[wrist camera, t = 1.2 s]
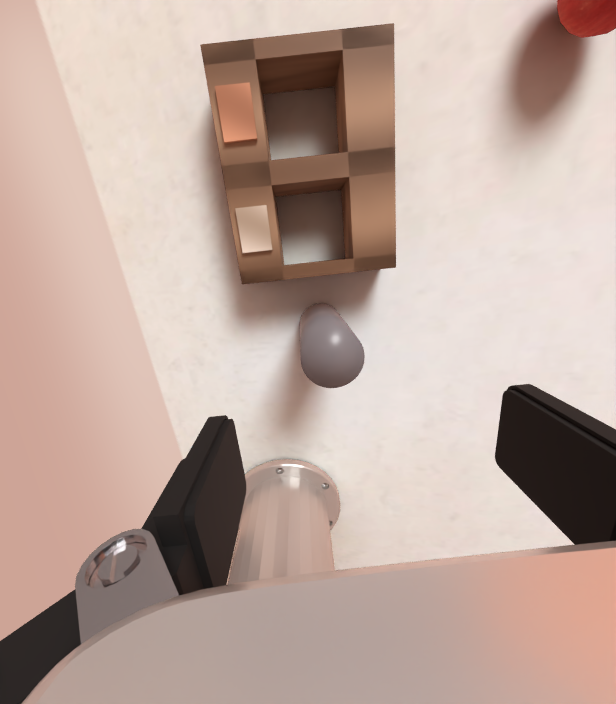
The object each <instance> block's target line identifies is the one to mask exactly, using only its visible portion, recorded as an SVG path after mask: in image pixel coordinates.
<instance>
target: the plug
mask: <svg viewBox="0 0 616 704" xmlns="http://www.w3.org/2000/svg"><path fill="white" fill-rule="evenodd" d="M300 345H301V364H302V368H303V371H304V373H305V374H306V376H307V377H308V378H309V379H310V380H311V381H312V382H313V383H315V384H317V385H319V386H322V387H326V388H337V387H341V386H344V385H346V384H348V383H350V382H351V381H353V380H354V379H355V378H356V377H357V376H358V374H359V373H360V371H361V369H362V367H363V364H364V350H363V347H362V344H361V343H360V341H359V340H358V338H357V337H356V336H355V334H354V333H353V332H352V330H351V329H350V328H349V326H348V325H347V324H346V322H345V321H344V320H343V318H342V317H341V316H340V314H339V313H338V312H337V310H336V309H335V308H333V307H332V306H330V305H328V304H323V303H319V304H314V305H312V306H310V307H308V308H307V309H306V310H305V311H304V312H303V314H302V316H301V319H300Z"/></svg>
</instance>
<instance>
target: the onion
mask: <svg viewBox="0 0 616 704" xmlns="http://www.w3.org/2000/svg"><path fill="white" fill-rule="evenodd" d="M557 10H558V15H559V19H560V22H561V24H562V25H563V26H564V27H565V29H566V30H567V31H568V32H569V33H570V34H573V35H575V36H578V37H581V38H583V37H591V36H596V35H601V34H606V33H609V32H610V31H612V30H614V29H615V28H616V0H558V1H557Z"/></svg>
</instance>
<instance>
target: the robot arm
mask: <svg viewBox="0 0 616 704" xmlns="http://www.w3.org/2000/svg"><path fill="white" fill-rule="evenodd" d="M495 459H496V462H497V464H498V466H499V467H500V468H501V469H502V470H503V472H504V473H505V474H506V475H507V476H508V477H509V478H510V479H511V480H512V481H513V482H514V483H515V484H516V485H517V486H518V487H519V488H520V489H521V490H522V491H523V492H524V493H525V494H526V495H527V496H528V497H529V498H530V499H531V500H532V501H533V502H534V503H535V504H536V505H537V506H538V507H539V508H540V509H541V510H542V511H543V512H544V514H545V515H546V516H547V517H548V518H549V519H550V520H551V521H552V522H553V523H554V524H555V525H556V526H557V527H558V528H559V529H560V530H561V531H562V532H563V533H564V534H565V535H566V536H567V537H568V538H569V539H570V540H571V541H572V542H573V543H574V544H575V545H568V546H558V547H548V548H538V549H529V550H519V551H510V552H500V553H491V554H481V555H472V556H462V557H453V558H444V559H434V560H425V561H416V562H407V563H398V564H389V565H380V566H371V567H363V568H354V569H345V570H336V571H335V567H334V559H333V551H332V542H331V534H330V530H331V529H332V528H333V527H334V525H335V523H336V522H337V520H338V517H339V513H340V498H339V493H338V490H337V487H336V485H335V483H334V482H333V480H332V479H331V478H330V477H329V476H328V475H327V473H326V472H324V471H323V470H321V469H320V468H318V467H317V466H314V465H312V464H310V463H308V462H304V461H300V460H292V459H282V460H274V461H270V462H266V463H263V464H261V465H258V466H256V467H255V468H253V469H252V470H250V471H249V472H247V473H246V474H244V469H243V464H242V459H241V454H240V449H239V445H238V440H237V435H236V430H235V425H234V421H233V419H228V417H227V416H226V415H225V416H215V417H209V418H208V419H207V421H206V423H205V425H204V426H203V428H202V430H201V432H200V434H199V435H198V437H197V439H196V441H195V442H194V444H193V446H192V448H191V450H190V451H189V453H188V455H187V457H186V458H185V459H183V460H182V461H181V462H180V463H179V465H178V466H177V468H176V470H175V472H174V473H173V475H172V477H171V479H170V480H169V482H168V484H167V485H166V487H165V489H164V491H163V492H162V494H161V496H160V497H159V499H158V501H157V503H156V505H155V506H154V508H153V510H152V511H151V513H150V515H149V516H148V518H147V520H146V522H145V523H144V525H143V527H142V528H141V529H132V530H129V531H125V532H122V533H120V534H118V535H116V536H114V537H112V538H110V539H109V540H107V541H106V542H104V543H103V544H101V545H100V546H99V547H98V548H97V549H96V550H95V551H94V552H92V553H91V554H90V555H89V557H88V558H87V559H86V561H85V562H84V563H83V565H82V566H81V568H80V570H79V572H78V574H77V576H76V583H75V590H74V591H72V592H71V593H69V594H68V595H67V596H65V597H63V598H62V599H60V600H59V601H58V602H56V603H55V604H53V605H52V606H50V607H49V608H48V609H46V610H45V611H43V612H42V613H40V614H39V615H37V616H36V617H35V618H33V619H32V620H30V621H29V622H27V623H26V624H24V625H23V626H22V627H20V628H19V629H17V630H16V631H14V632H13V633H11V634H10V635H9V636H7V637H6V638H4V639H3V640H1V641H0V704H616V429H614V428H612V427H610V426H608V425H606V424H604V423H603V422H601V421H599V420H597V419H595V418H593V417H591V416H589V415H587V414H586V413H584V412H582V411H580V410H578V409H576V408H574V407H572V406H571V405H569V404H567V403H565V402H563V401H561V400H559V399H557V398H556V397H554V396H552V395H550V394H548V393H546V392H544V391H542V390H540V389H539V388H537V387H535V386H533V385H530V384H524V385H514V386H510V387H508V389H507V391H505V392H504V393H503V398H502V406H501V413H500V421H499V429H498V437H497V445H496V452H495ZM238 528H239V530H240V531H239V535H238V540H237V545H236V549H235V554H234V558H233V563H232V568H231V572H230V577H229V582H228V585H226V583H227V578H228V574H229V569H230V564H231V560H232V555H233V551H234V546H235V542H236V537H237V533H238Z"/></svg>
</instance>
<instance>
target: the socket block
mask: <svg viewBox="0 0 616 704" xmlns="http://www.w3.org/2000/svg"><path fill="white" fill-rule="evenodd" d="M201 51H202V56H203V62H204V68H205V74H206V80H207V85H208V91H209V97H210V103H211V108H212V114H213V120H214V126H215V131H216V137H217V143H218V149H219V154H220V160H221V166H222V172H223V177H224V183H225V189H226V195H227V200H228V206H229V212H230V218H231V223H232V229H233V235H234V241H235V247H236V252H237V258H238V264H239V270H240V275H241V281H242V284H250V283H259V282H268V281H277V280H286V279H295V278H304V277H313V276H322V275H331V274H340V273H349V272H358V271H368V270H377V269H386V268H395V267H396V220H395V85H394V23H393V24H384V25H375V26H365V27H356V28H347V29H338V30H329V31H320V32H311V33H302V34H293V35H284V36H275V37H265V38H256V39H247V40H238V41H229V42H220V43H211V44H202V45H201ZM334 86H335V99H336V115H337V132H338V148H339V153H334V154H325V155H315V156H306V157H297V158H288V159H279V160H271V155H270V147H269V139H268V131H267V123H266V115H265V107H264V99H263V94H271V93H280V92H289V91H298V90H307V89H316V88H325V87H334ZM334 190H341V198H342V214H343V231H344V247H345V259H336V260H327V261H318V262H309V263H300V264H291V265H284V259H283V251H282V243H281V235H280V227H279V219H278V211H277V203H276V197H280V196H289V195H298V194H307V193H316V192H325V191H334Z"/></svg>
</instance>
